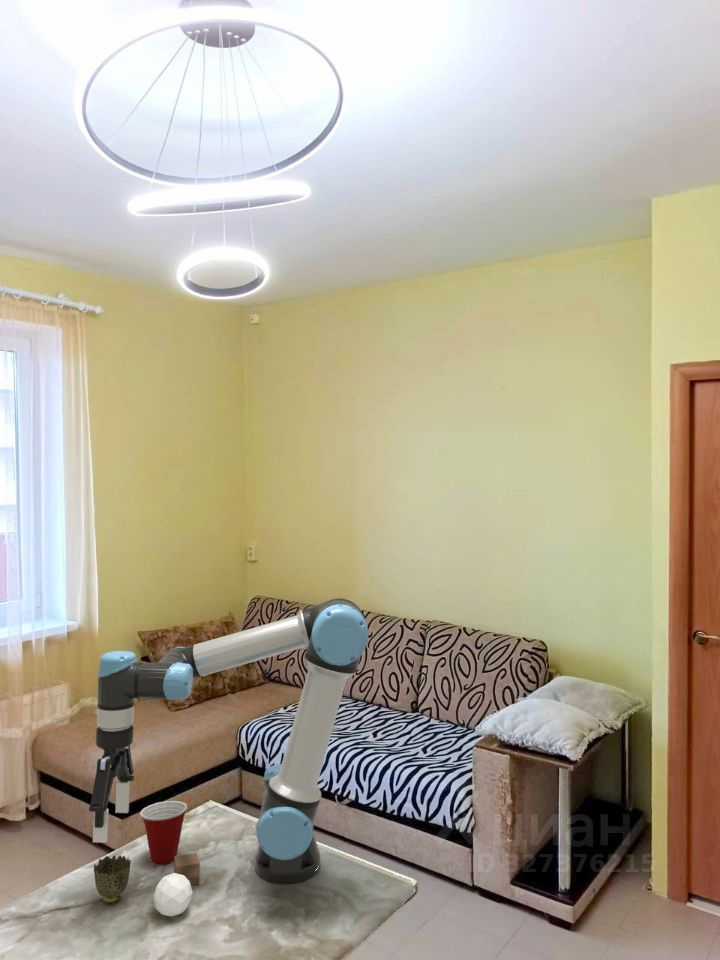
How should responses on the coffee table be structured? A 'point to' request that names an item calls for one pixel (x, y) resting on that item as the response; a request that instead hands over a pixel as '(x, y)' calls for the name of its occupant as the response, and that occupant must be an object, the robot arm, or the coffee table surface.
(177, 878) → the geometric ball
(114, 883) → the ornate bell
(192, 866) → the walnut block
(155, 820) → the plastic cup
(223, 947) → the coffee table surface
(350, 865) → the coffee table surface
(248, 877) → the coffee table surface
